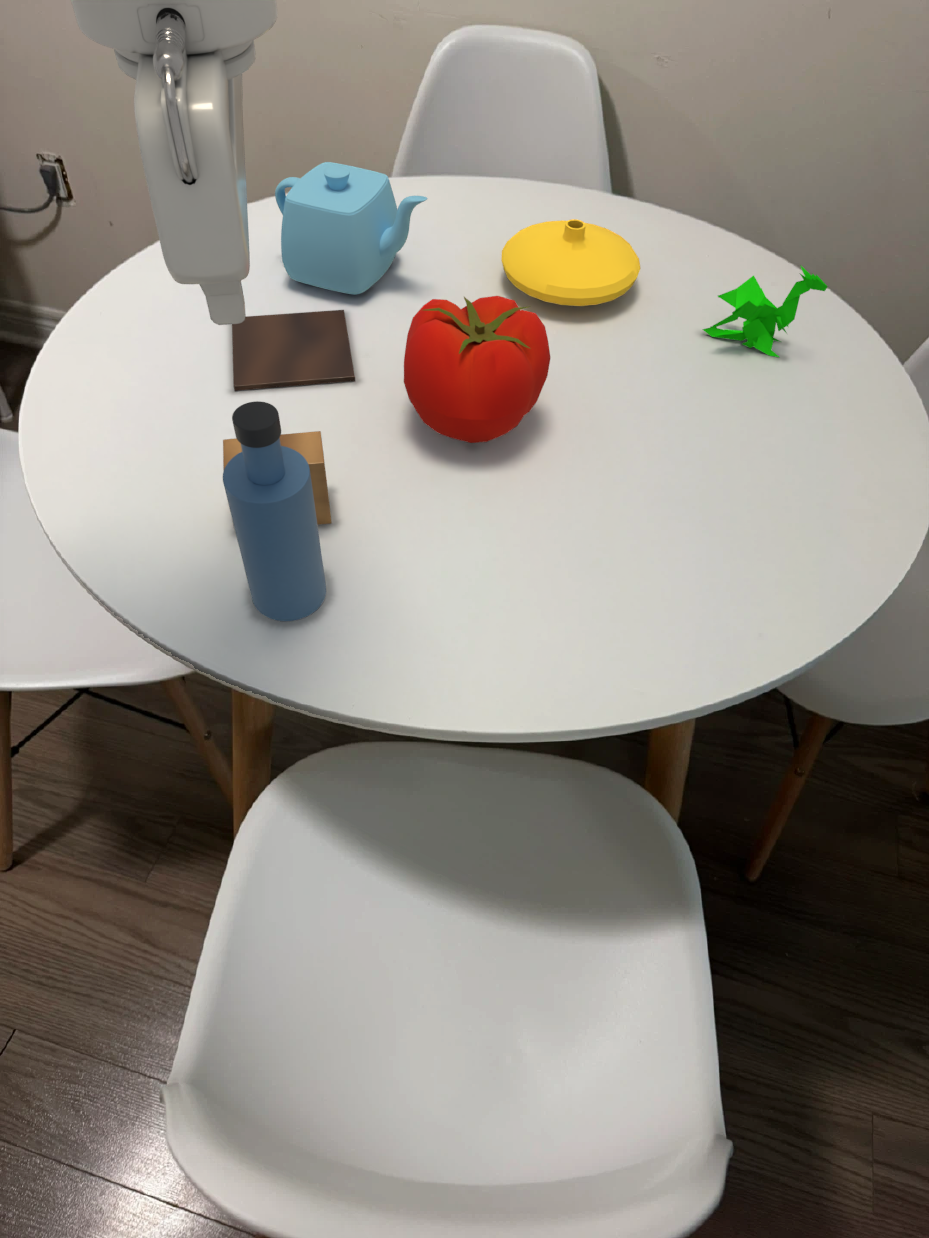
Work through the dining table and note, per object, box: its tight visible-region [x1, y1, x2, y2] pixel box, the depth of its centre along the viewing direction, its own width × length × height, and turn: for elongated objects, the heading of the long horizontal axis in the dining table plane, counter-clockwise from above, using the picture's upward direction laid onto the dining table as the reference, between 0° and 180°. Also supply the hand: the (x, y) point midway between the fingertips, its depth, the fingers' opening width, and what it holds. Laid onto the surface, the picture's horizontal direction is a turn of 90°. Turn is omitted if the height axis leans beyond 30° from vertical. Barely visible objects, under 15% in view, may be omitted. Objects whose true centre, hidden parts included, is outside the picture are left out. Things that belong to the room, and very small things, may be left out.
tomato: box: [403, 295, 551, 444], centre depth 81 cm, size 13×14×12 cm
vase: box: [500, 218, 641, 307], centre depth 99 cm, size 16×16×7 cm
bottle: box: [222, 400, 327, 622], centre depth 65 cm, size 6×13×18 cm, turn 10°
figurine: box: [702, 264, 829, 358], centre depth 92 cm, size 6×12×9 cm, turn 73°
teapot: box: [274, 161, 428, 296], centre depth 97 cm, size 12×18×12 cm
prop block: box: [222, 430, 332, 526], centre depth 74 cm, size 8×4×7 cm, turn 100°
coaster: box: [231, 309, 356, 392], centre depth 91 cm, size 12×12×1 cm
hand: (228, 269), depth 49 cm, fingers open, 8 cm apart
